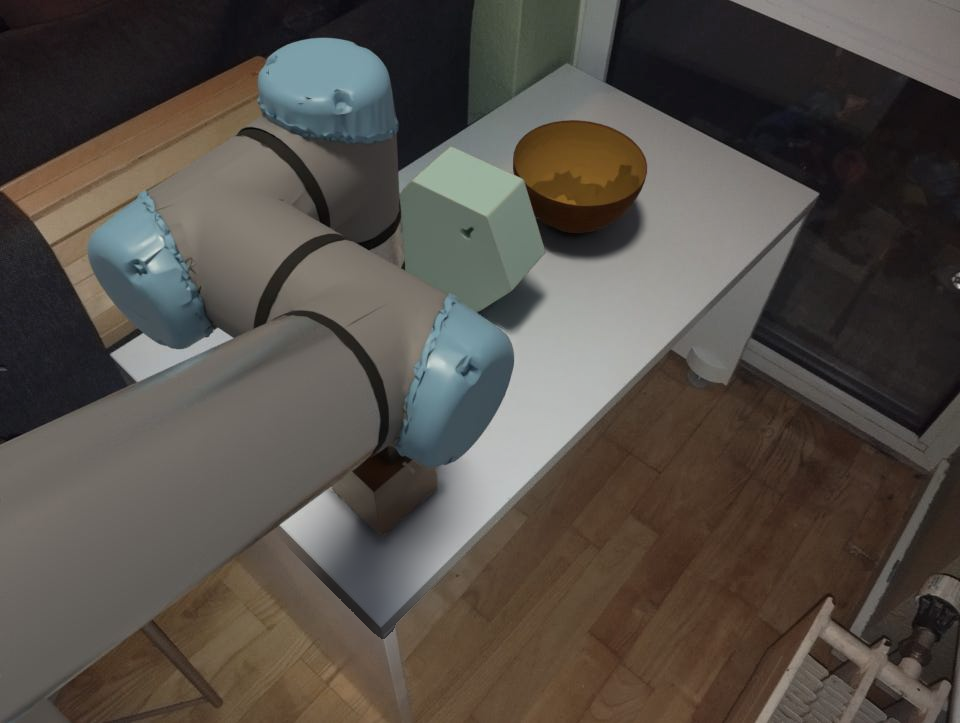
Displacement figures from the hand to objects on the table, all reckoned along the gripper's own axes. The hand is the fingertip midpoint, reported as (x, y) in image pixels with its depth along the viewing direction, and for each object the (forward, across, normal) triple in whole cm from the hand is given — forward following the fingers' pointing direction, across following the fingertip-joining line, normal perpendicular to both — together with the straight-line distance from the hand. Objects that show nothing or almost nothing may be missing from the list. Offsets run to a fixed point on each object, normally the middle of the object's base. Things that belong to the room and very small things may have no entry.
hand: (377, 434), depth 73 cm
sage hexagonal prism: (+11, -27, -15) cm, 33 cm away
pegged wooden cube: (+11, 0, 0) cm, 11 cm away
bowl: (+11, -47, -13) cm, 50 cm away
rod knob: (+1, 0, 0) cm, 1 cm away
